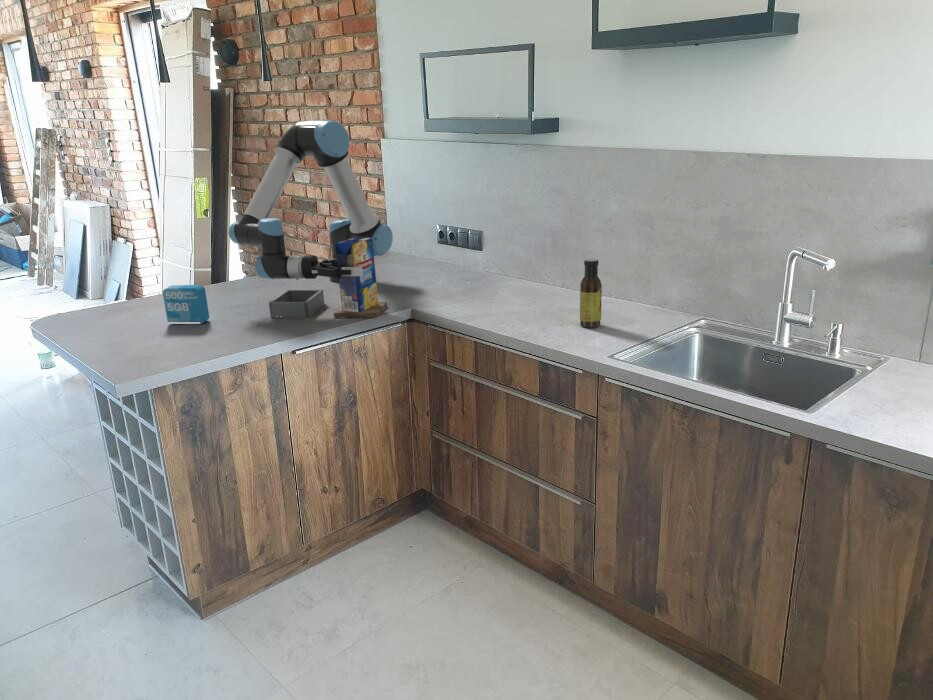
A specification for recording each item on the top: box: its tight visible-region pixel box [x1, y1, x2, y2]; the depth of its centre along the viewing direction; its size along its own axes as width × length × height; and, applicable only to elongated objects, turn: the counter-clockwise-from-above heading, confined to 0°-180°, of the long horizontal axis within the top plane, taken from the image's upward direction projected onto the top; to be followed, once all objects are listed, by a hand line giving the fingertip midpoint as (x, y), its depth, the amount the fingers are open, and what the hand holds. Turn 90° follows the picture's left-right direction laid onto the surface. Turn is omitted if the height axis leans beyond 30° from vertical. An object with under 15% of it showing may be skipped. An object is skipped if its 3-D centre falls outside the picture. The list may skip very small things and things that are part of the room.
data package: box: [162, 284, 210, 323], centre depth 226 cm, size 12×4×12 cm, turn 87°
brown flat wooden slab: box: [333, 301, 388, 319], centre depth 234 cm, size 14×14×2 cm
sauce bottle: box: [579, 258, 603, 329], centre depth 209 cm, size 6×6×20 cm
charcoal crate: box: [268, 289, 325, 318], centre depth 237 cm, size 17×13×5 cm
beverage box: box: [335, 237, 379, 312], centre depth 230 cm, size 7×11×22 cm, turn 153°
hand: (367, 267), depth 229 cm, fingers open, 13 cm apart
